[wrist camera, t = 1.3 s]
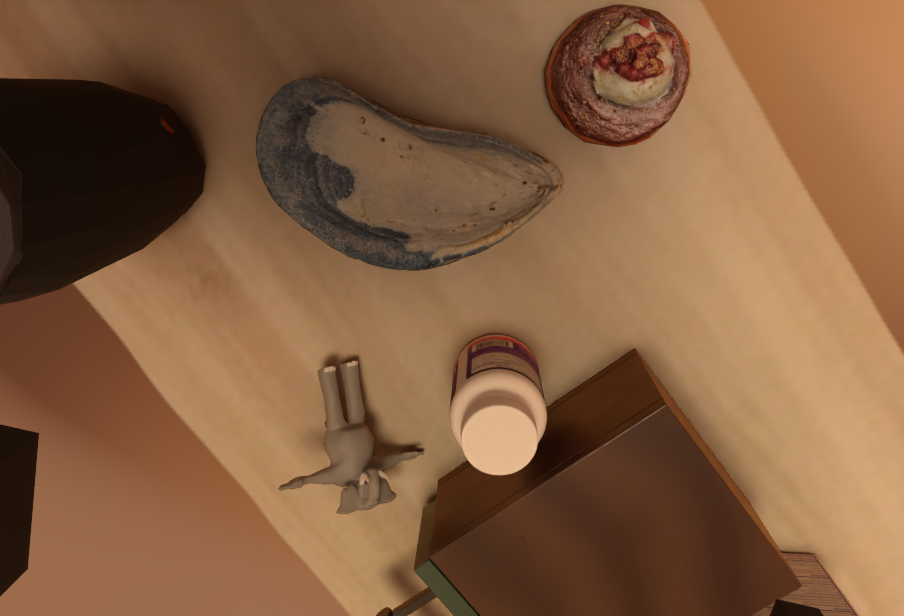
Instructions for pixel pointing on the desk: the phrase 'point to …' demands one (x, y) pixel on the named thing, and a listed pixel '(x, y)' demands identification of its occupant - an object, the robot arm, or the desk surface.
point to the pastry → (618, 75)
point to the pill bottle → (497, 404)
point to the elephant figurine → (351, 447)
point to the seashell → (394, 178)
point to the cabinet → (609, 516)
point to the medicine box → (814, 588)
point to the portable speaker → (85, 179)
